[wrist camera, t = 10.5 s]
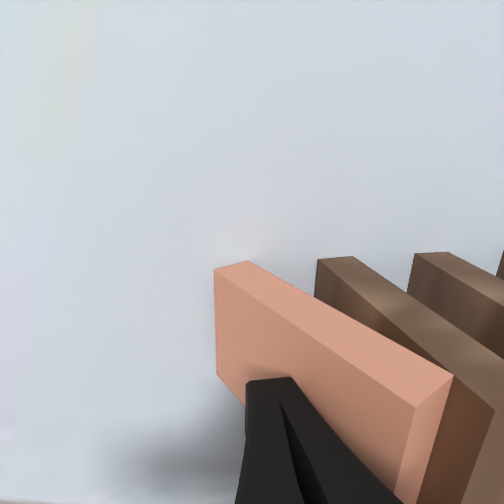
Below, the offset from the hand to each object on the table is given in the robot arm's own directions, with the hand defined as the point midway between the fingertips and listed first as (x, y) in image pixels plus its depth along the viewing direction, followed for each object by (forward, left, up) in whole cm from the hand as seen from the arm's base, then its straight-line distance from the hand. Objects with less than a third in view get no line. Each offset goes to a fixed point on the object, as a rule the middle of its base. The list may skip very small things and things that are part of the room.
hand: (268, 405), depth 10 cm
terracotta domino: (+1, 0, -5) cm, 5 cm away
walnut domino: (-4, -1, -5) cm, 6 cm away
